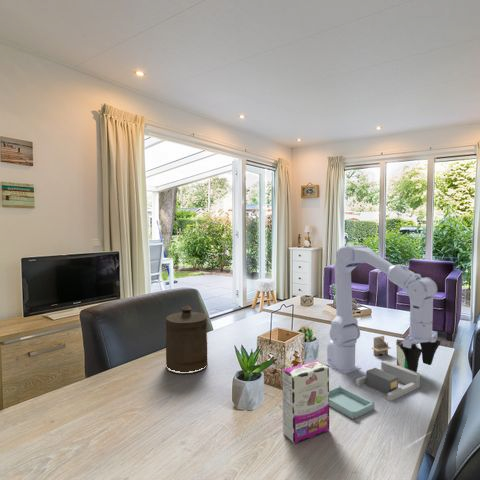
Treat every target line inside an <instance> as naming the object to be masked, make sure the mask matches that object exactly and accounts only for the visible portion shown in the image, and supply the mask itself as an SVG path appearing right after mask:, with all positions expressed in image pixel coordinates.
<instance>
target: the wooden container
mask: <svg viewBox="0 0 480 480" xmlns="http://www.w3.org/2000/svg"><path fill="white" fill-rule="evenodd" d="M165 318H166V319H165V320H166V321H165V324H166V327H165V328H166V331H165V334H166V335H165V337H166V338H165V361H166V362H165V366H166V365H167V367H168V368H170V369H171V370H175V371H180V372H189V371H195V370H199V369H201V368H204V367H205V366H206V365H207V366H208V332H207V329H208V328H207V326H208V322H207V321H208V319H207V318H208V317H207V314H205V313H203V312H197V311H192V307H191V306H189V305H184V306H183V307H181V311H179V312H175V313H172V314H169V315H167V316H166V317H165Z"/></svg>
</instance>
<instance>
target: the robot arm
mask: <svg viewBox="0 0 480 480" xmlns="http://www.w3.org/2000/svg"><path fill="white" fill-rule="evenodd" d="M335 255H336V256H335V259H336V260H335V262H334V263H335V264H334V283H335V284H334V288H335V309H336V310H335V311H336V316H334V319H332V320H331V322H330V328H329V337H330V340H329V341H328V344H327V346H326V358H327V359H326V363H325V365H326V366H328V367H329V368H332V369H334V370H336V371H339V372H342V373H343V374H349V373H351V372H354V371H357V370H360V369H361V366H359V365H357V364H356V343H357V342H358V341H357V340H358V339H359V338H360V336H361V329H360V327H359V325H358V324H359V323H358V320H357V318H356V317H354V314H353V313H354V312H353V292H352V289H353V288H352V287H353V286H352V271H354V269H356V267H358V266H360V265H362V264H368V265H370V266H371V267H373V268H375V269H377V270H379V271H380V272H382V273H384V274H386V275H387V279H388V280H389V281H390V282H391V283H393V284H395V285H396V286H398V288H399V287H400V288H401V289H403V290H404V291H405V293H406V294H407V297H409V305H410V307H409V308H410V309H409V333H408V335H407V336H405V338H403V339H402V340H403V343H401V344H400V347H401V349H402V351H403V353H404V355H405V357H406V361H407V365H408V369H409V370H412V371H414V372H416V371H417V372H418V368H419V360H420V357H421V359H422V363H423V364H426V365H428V366H431V365H432V364H433V361H434V358H435V354H436V352H437V349H438V348H439V346H440V345H441V341H440V340H438V331H435V330H433V317H434V314H433V313H434V297H436V294H437V293H438V285H437V284H436V282H435V281H434V280H433V279H432V278H431V277H428V276H427V277H422V275H421V274H420V273H415V271H411V269H408V268H407V265H405V264H399V263H397V264H395V265H394V264H393V263H391V262H390V261H388V260H386V259H385V257H384V258H383V257H382V256H380V255H379V254H378V253H376V252H374V251H373V248H371V247H367V245H364V244H358V245H342V246H341V247H340V248H339V249H338V250H336V253H335ZM418 344H419V345H420V347H419V348H420V349H419V348H417V346H416V345H418Z"/></svg>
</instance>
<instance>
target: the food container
mask: <svg viewBox="0 0 480 480" xmlns="http://www.w3.org/2000/svg"><path fill="white" fill-rule="evenodd" d="M395 341H396V342H395V343H396V365H398V366H401V367H403V368H406V369H408V365H407V361H406V357H405V355H404V353H403V351H402V349H401V347H400V344H401V343H403V339H396V340H395ZM416 346H417V348H419V349H421V347H420V346H419V345H418V344H416ZM411 371H412V370H411ZM416 372H417V373H418V370H417V371H416Z"/></svg>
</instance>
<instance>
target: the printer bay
mask: <svg viewBox="0 0 480 480" xmlns="http://www.w3.org/2000/svg"><path fill="white" fill-rule="evenodd" d="M380 365H381V366H380V368H381V369H380V370H382V371H385V372H387V373H390V374H392V375H395V376H397V377H398V383H402V384H404V385H403V386H400V387H398V389H396V390H394V391H391V392H389V393H387V394H385V393H382V392H380V391H378V390H376V389H374V388H372V387H369V386H367V385H366V374H365V375H363V376H361V377H357V378H356V379H355V385H357V386H359V387H360V388H363V389H365V390H367V391H369V392H371V393H373V394H375V395H378V396H379V397H382V398H384V399H386V400H388V401H389V402H391V401H394V400H396V399H398V398H400V397H402V396H405V395H406V394H408V393H411V392H413V391H414V390H416V389H419V388H421V373H419V372H418V371H417V372H414V371H411V370H409V369H406V368H403V367H401V366H398V365H397V364H395V363H392V362H391V361H387V360H383V361H381V364H380Z"/></svg>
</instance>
